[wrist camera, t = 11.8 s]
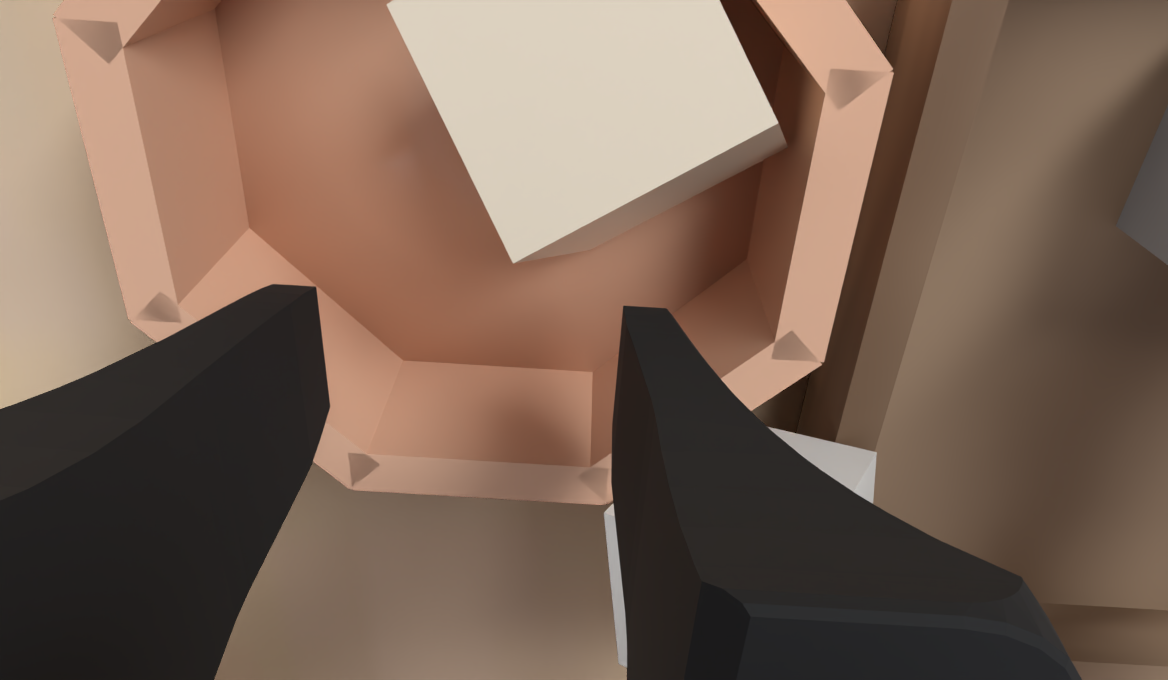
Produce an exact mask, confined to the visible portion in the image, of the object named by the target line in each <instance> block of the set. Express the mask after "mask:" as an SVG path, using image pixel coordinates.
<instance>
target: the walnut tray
mask: <svg viewBox="0 0 1168 680" xmlns="http://www.w3.org/2000/svg"><path fill="white" fill-rule="evenodd" d="M884 56H885V58H886V59H887V61H888V62H889V64H890V65H891V67H892V68H893V70H892V72H894V74H893V78H892V82H891V86H890V91H889V95H888V99H887V103H886V107H885V111H884V115H883V120H882V124H881V128H880V132H879V136H878V140H877V144H876V149H875V153H874V157H873V161H872V165H871V169H870V173H869V178H868V182H867V186H866V190H865V194H864V198H863V202H862V207H861V211H860V215H859V219H858V223H857V227H856V231H855V236H854V240H853V244H852V248H851V252H850V256H849V260H848V265H847V269H846V273H845V277H844V281H843V285H842V289H841V294H840V298H839V302H838V306H837V310H836V314H835V318H834V323H833V327H832V331H831V335H830V339H829V343H828V347H827V352H826V356H825V360H824V362H821V363H822V365H821V366H819V367H818V368H816V369H815V370H813V371H812V372H810V377H809V381H808V385H807V389H806V394H805V398H804V402H803V407H802V411H801V415H800V419H799V424H798V428H797V432H796V433H797V434H801V435H805V436H809V437H814V438H818V439H822V440H826V441H831V442H835V443H839V444H843V445H848V446H852V447H856V448H860V449H865V450H869V451H873V452H877V455H876V469H875V483H874V498H873V504H874V505H876V506H877V507H879V508H881V509H883V510H884V511H886V512H888V513H889V514H891V515H893V516H895V517H897V518H899V519H901V520H902V521H904V522H906V523H908V524H910V525H912V526H913V527H915V528H917V529H919V530H921V531H923V532H925V533H926V534H928V535H930V536H932V537H934V538H936V539H938V540H940V541H942V542H945V543H947V544H949V545H951V546H954V547H956V548H958V549H960V550H963V551H965V552H967V553H969V554H971V555H974V556H976V557H978V558H980V559H983V560H985V561H987V562H989V563H992V564H994V565H996V566H998V567H1000V568H1003V569H1005V570H1007V571H1009V572H1012V573H1014V574H1016V575H1018V576H1021V577H1022V578H1023V580H1024V582H1025V583H1026V584H1027V586H1028V587H1029V589H1030V590H1031V592H1032V593H1033V595H1034V596H1035V598H1036V599H1037V601H1038V602H1039V604H1040V606H1041V607H1042V609H1043V610H1044V612H1045V613H1046V615H1047V616H1048V618H1049V620H1050V622H1051V623H1052V625H1053V627H1054V629H1055V631H1056V633H1057V635H1058V636H1059V638H1060V640H1061V642H1062V644H1063V646H1064V648H1065V650H1066V652H1067V654H1068V656H1069V657H1070V659H1071V661H1072V663H1073V664H1074V666H1075V668H1076V670H1077V671H1078V673H1079V675H1080V677H1081V679H1082V680H1168V265H1167V264H1166V263H1164V262H1163V261H1162V260H1160V259H1159V258H1158V257H1156V256H1155V255H1154V254H1152V253H1151V252H1150V251H1148V250H1147V249H1146V248H1144V247H1143V246H1142V245H1140V244H1139V243H1138V242H1136V241H1135V240H1134V239H1132V238H1131V237H1130V236H1128V235H1127V234H1126V233H1124V232H1123V231H1122V230H1120V229H1119V228H1118V227H1116V224H1117V222H1118V219H1119V217H1120V215H1121V212H1122V210H1123V208H1124V206H1125V203H1126V201H1127V199H1128V196H1129V194H1130V192H1131V189H1132V187H1133V185H1134V182H1135V180H1136V178H1137V175H1138V173H1139V171H1140V168H1141V166H1142V164H1143V161H1144V159H1145V157H1146V154H1147V152H1148V150H1149V148H1150V145H1151V143H1152V141H1153V138H1154V136H1155V134H1156V131H1157V129H1158V127H1159V124H1160V122H1161V120H1162V117H1163V115H1164V113H1165V110H1166V108H1167V106H1168V0H897V4H896V8H895V13H894V17H893V21H892V25H891V30H890V34H889V38H888V43H887V47H886V51H885V55H884Z"/></svg>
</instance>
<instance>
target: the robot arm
mask: <svg viewBox="0 0 1168 680" xmlns="http://www.w3.org/2000/svg"><path fill="white" fill-rule="evenodd" d="M329 409H330V399H329V391H328V382H327V374H326V365H325V357H324V348H323V340H322V331H321V323H320V314H319V306H318V297H317V289H316V286H299V285H283V284H271V285H269V286H266V287H263V288H261V289H259V290H257V291H254V292H252V293H250V294H248V295H246V296H244V297H242V298H240V299H238V300H236V301H235V302H233V303H231V304H229V305H227V306H225V307H223V308H221V309H219V310H218V311H216V312H214V313H212V314H210V315H208V316H206V317H204V318H203V319H201V320H199V321H197V322H195V323H193V324H191V325H189V326H188V327H186V328H184V329H182V330H180V331H178V332H176V333H174V334H172V335H171V336H169V337H167V338H165V339H163V340H161V341H159V342H157V343H155V344H153V345H151V346H149V347H146V348H144V349H142V350H140V351H138V352H136V353H134V354H132V355H130V356H128V357H126V358H124V359H121V360H119V361H117V362H115V363H113V364H111V365H109V366H107V367H105V368H103V369H101V370H99V371H96V372H94V373H92V374H90V375H87V376H85V377H83V378H80V379H78V380H76V381H73V382H71V383H68V384H66V385H64V386H61V387H59V388H56V389H54V390H51V391H48V392H46V393H43V394H40V395H38V396H35V397H33V398H30V399H27V400H25V401H22V402H19V403H17V404H14V405H11V406H8V407H5V408H3V409H0V680H214V678H215V675H216V673H217V670H218V667H219V665H220V662H221V659H222V656H223V654H224V651H225V648H226V646H227V643H228V640H229V637H230V635H231V632H232V629H233V627H234V624H235V621H236V619H237V616H238V614H239V612H240V610H241V607H242V605H243V603H244V601H245V598H246V596H247V594H248V592H249V590H250V588H251V586H252V584H253V582H254V580H255V578H256V576H257V574H258V572H259V570H260V568H261V566H262V564H263V562H264V560H265V558H266V556H267V554H268V552H269V550H270V548H271V546H272V544H273V542H274V540H275V538H276V536H277V534H278V532H279V530H280V528H281V526H282V524H283V522H284V520H285V518H286V516H287V514H288V512H289V510H290V508H291V506H292V504H293V502H294V500H295V498H296V496H297V494H298V492H299V490H300V488H301V486H302V484H303V482H304V480H305V478H306V475H307V473H308V471H309V469H310V467H311V465H312V462H313V459H314V456H315V454H316V451H317V448H318V445H319V442H320V439H321V436H322V432H323V429H324V426H325V422H326V419H327V416H328V413H329ZM611 485H612V495H613V504H614V514H615V523H616V533H617V542H618V551H619V561H620V570H621V579H622V588H623V598H624V607H625V619H626V635H627V680H1082V679H1081V677H1080V675H1079V673H1078V671H1077V670H1076V668H1075V666H1074V664H1073V663H1072V661H1071V659H1070V657H1069V656H1068V654H1067V652H1066V650H1065V648H1064V646H1063V644H1062V642H1061V640H1060V638H1059V636H1058V635H1057V633H1056V631H1055V629H1054V627H1053V625H1052V623H1051V622H1050V620H1049V618H1048V616H1047V615H1046V613H1045V612H1044V610H1043V609H1042V607H1041V606H1040V604H1039V602H1038V601H1037V599H1036V598H1035V596H1034V595H1033V593H1032V592H1031V590H1030V589H1029V587H1028V586H1027V584H1026V583H1025V582H1024V580H1023V578H1022V577H1021V576H1018V575H1016V574H1014V573H1012V572H1009V571H1007V570H1005V569H1003V568H1000V567H998V566H996V565H994V564H992V563H989V562H987V561H985V560H983V559H980V558H978V557H976V556H974V555H971V554H969V553H967V552H965V551H963V550H960V549H958V548H956V547H954V546H951V545H949V544H947V543H945V542H942V541H940V540H938V539H936V538H934V537H932V536H930V535H928V534H926V533H925V532H923V531H921V530H919V529H917V528H915V527H913V526H912V525H910V524H908V523H906V522H904V521H902V520H901V519H899V518H897V517H895V516H893V515H891V514H889V513H888V512H886V511H884V510H883V509H881V508H879V507H877V506H876V505H874V504H872V503H871V502H869V501H867V500H866V499H864V498H862V497H861V496H859V495H858V494H856V493H855V492H853V491H852V490H850V489H849V488H847V487H846V486H844V485H843V484H841V483H840V482H838V481H837V480H835V479H834V478H832V477H831V476H829V475H828V474H826V473H825V472H823V471H822V470H820V469H819V468H818V467H816V466H815V465H814V464H812V463H811V462H810V461H808V460H807V459H806V458H804V457H803V456H802V455H800V454H799V453H798V452H797V451H796V450H794V449H793V448H792V447H791V446H789V445H788V444H787V443H786V442H785V441H783V440H782V439H781V438H780V437H779V436H777V435H776V434H775V433H774V432H773V431H771V430H770V429H769V428H768V427H767V426H766V425H765V424H764V423H763V422H761V421H760V420H759V419H758V418H757V417H756V416H755V415H754V414H753V413H752V412H751V411H750V410H749V409H748V408H747V407H746V406H745V405H744V404H743V403H742V402H741V401H740V400H739V399H738V398H737V397H736V396H735V395H734V394H733V392H732V391H731V390H730V389H729V388H728V387H727V386H726V384H725V383H724V382H723V381H722V380H721V378H720V377H719V376H718V375H717V374H716V373H715V371H714V370H713V369H712V368H711V367H710V365H709V364H708V363H707V362H706V360H705V359H704V358H703V357H702V355H701V354H700V353H699V351H698V350H697V349H696V347H695V346H694V345H693V343H692V342H691V341H690V339H689V338H688V336H687V335H686V334H685V332H684V331H683V329H682V328H681V327H680V325H679V324H678V322H677V321H676V319H675V318H674V317H673V315H672V314H671V313H670V312H669V311H668V309H667V308H655V307H638V306H623V313H622V324H621V335H620V346H619V356H618V367H617V378H616V389H615V399H614V410H613V421H612V463H611Z"/></svg>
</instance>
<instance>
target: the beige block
mask: <svg viewBox="0 0 1168 680" xmlns="http://www.w3.org/2000/svg"><path fill="white" fill-rule="evenodd" d="M387 7H388V9H389V11H390V13H391V15H392V17H393V19H394V21H395V23H396V25H397V27H398V29H399V31H400V34H401V36H402V38H403V40H404V42H405V44H406V46H407V48H408V50H409V52H410V54H411V56H412V58H413V60H414V62H415V64H416V66H417V68H418V70H419V72H420V74H421V76H422V78H423V80H424V83H425V85H426V87H427V89H428V91H429V93H430V95H431V97H432V99H433V101H434V103H435V105H436V107H437V109H438V111H439V113H440V115H441V117H442V119H443V121H444V123H445V125H446V127H447V130H448V132H449V134H450V136H451V138H452V140H453V142H454V144H455V146H456V148H457V150H458V152H459V154H460V156H461V158H462V160H463V162H464V164H465V166H466V168H467V170H468V172H469V174H470V176H471V179H472V181H473V183H474V185H475V187H476V189H477V191H478V193H479V195H480V197H481V199H482V201H483V203H484V205H485V207H486V209H487V211H488V213H489V215H490V217H491V219H492V221H493V223H494V226H495V228H496V230H497V232H498V234H499V236H500V238H501V240H502V242H503V244H504V246H505V248H506V250H507V252H508V254H509V256H510V258H511V260H512V262H513V263H519V262H524V261H530V260H536V259H542V258H547V257H553V256H559V255H564V254H570V253H576V252H582V251H587V250H591V249H593V248H595V247H597V246H599V245H601V244H603V243H605V242H606V241H608V240H610V239H612V238H614V237H616V236H618V235H620V234H622V233H624V232H626V231H628V230H630V229H632V228H633V227H635V226H637V225H639V224H641V223H643V222H645V221H647V220H649V219H651V218H653V217H655V216H657V215H659V214H661V213H662V212H664V211H666V210H668V209H670V208H672V207H674V206H676V205H678V204H680V203H682V202H684V201H686V200H688V199H689V198H691V197H693V196H695V195H697V194H699V193H701V192H703V191H705V190H707V189H709V188H711V187H713V186H715V185H717V184H718V183H720V182H722V181H724V180H726V179H728V178H730V177H732V176H734V175H736V174H738V173H740V172H742V171H744V170H746V169H747V168H749V167H751V166H753V165H755V164H757V163H759V162H761V161H763V160H765V159H767V158H769V157H771V156H773V155H774V154H776V153H778V152H780V151H782V150H784V149H786V148H788V146H787V143H786V140H785V138H784V135H783V133H782V130H781V128H780V125H779V123H778V121H777V119H776V117H775V114H774V112H773V110H772V108H771V106H770V104H769V102H768V100H767V98H766V96H765V94H764V92H763V90H762V88H761V85H760V83H759V81H758V79H757V77H756V75H755V73H754V71H753V69H752V67H751V65H750V63H749V61H748V58H747V56H746V54H745V52H744V50H743V48H742V46H741V44H740V42H739V40H738V38H737V36H736V34H735V31H734V29H733V27H732V25H731V23H730V21H729V19H728V17H727V15H726V13H725V11H724V9H723V7H722V4H721V2H720V0H393V1H391V2H390V3H388V4H387Z"/></svg>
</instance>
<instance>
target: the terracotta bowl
mask: <svg viewBox="0 0 1168 680" xmlns="http://www.w3.org/2000/svg"><path fill="white" fill-rule="evenodd" d="M391 1H393V0H63V2H62V3H61V4H60V6H59V7H58V8H57V10H56V11H55V12H54V14H53V15H54V16H55V17H54V18H53V22H54V26H55V30H56V34H57V38H58V42H59V46H60V50H61V54H62V58H63V62H64V66H65V70H66V74H67V78H68V82H69V85H70V89H71V93H72V97H73V101H74V105H75V109H76V113H77V117H78V121H79V125H80V129H81V133H82V137H83V141H84V145H85V149H86V153H87V157H88V161H89V165H90V169H91V173H92V177H93V181H94V185H95V189H96V193H97V197H98V201H99V205H100V209H101V213H102V217H103V221H104V225H105V229H106V233H107V237H108V241H109V245H110V249H111V253H112V256H113V260H114V264H115V268H116V272H117V276H118V280H119V284H120V288H121V292H122V296H123V300H124V304H125V308H126V312H127V316H128V320H132V321H131V323H132V324H133V325H134V326H136V327H137V328H138V329H140V330H141V331H142V332H144V333H145V334H146V335H148V336H149V337H150V338H152V339H153V340H154V341H155V342H159V341H161V340H163V339H165V338H167V337H169V336H171V335H172V334H174V333H176V332H178V331H180V330H182V329H184V328H186V327H188V326H189V325H191V324H193V323H195V322H197V321H199V320H201V319H203V318H204V317H206V316H208V315H210V314H212V313H214V312H216V311H218V310H219V309H221V308H223V307H225V306H227V305H229V304H231V303H233V302H235V301H236V300H238V299H240V298H242V297H244V296H246V295H248V294H250V293H252V292H254V291H257V290H259V289H261V288H263V287H266V286H269V285H271V284H283V285H299V286H316V289H317V297H318V306H319V314H320V323H321V331H322V340H323V348H324V357H325V365H326V374H327V382H328V391H329V399H330V409H329V413H328V416H327V419H326V422H325V426H324V429H323V432H322V436H321V439H320V442H319V445H318V448H317V451H316V454H315V456H314V459H313V462H314V463H316V464H317V465H318V466H320V467H321V468H322V469H324V470H325V471H326V472H327V473H329V474H330V475H331V476H333V477H334V478H335V479H337V480H338V481H339V482H341V483H342V484H343V485H345V486H346V487H347V488H348V489H350V488H352V490H358V491H375V492H391V493H408V494H425V495H442V496H459V497H476V498H492V499H509V500H526V501H543V502H560V503H576V504H593V505H605V503H607V504H610V503H611V502H613V495H612V485H611V463H612V421H613V410H614V399H615V389H616V378H617V367H618V356H619V346H620V335H621V324H622V313H623V306H638V307H655V308H667V309H668V311H669V312H670V313H671V314H672V315H673V317H674V318H675V319H676V321H677V322H678V324H679V325H680V327H681V328H682V329H683V331H684V332H685V334H686V335H687V336H688V338H689V339H690V341H691V342H692V343H693V345H694V346H695V347H696V349H697V350H698V351H699V353H700V354H701V355H702V357H703V358H704V359H705V360H706V362H707V363H708V364H709V365H710V367H711V368H712V369H713V370H714V371H715V373H716V374H717V375H718V376H719V377H720V378H721V380H722V381H723V382H724V383H725V384H726V386H727V387H728V388H729V389H730V390H731V391H732V392H733V394H734V395H735V396H736V397H737V398H738V399H739V400H740V401H741V402H742V403H743V404H744V405H745V406H746V407H747V408H748V409H749V410H750V411H752V410H754V409H755V408H757V407H758V406H760V405H761V404H763V403H764V402H766V401H767V400H769V399H770V398H772V397H773V396H775V395H776V394H778V393H780V392H781V391H783V390H784V389H786V388H787V387H789V386H790V385H792V384H793V383H795V382H796V381H798V380H799V379H801V378H803V377H804V376H806V375H807V374H809V373H810V372H812V371H813V370H815V369H816V368H818V367H819V366H821V365H822V363H821V362H824V360H825V356H826V352H827V347H828V343H829V339H830V335H831V331H832V327H833V323H834V318H835V314H836V310H837V306H838V302H839V298H840V294H841V289H842V285H843V281H844V277H845V273H846V269H847V265H848V260H849V256H850V252H851V248H852V244H853V240H854V236H855V231H856V227H857V223H858V219H859V215H860V211H861V207H862V202H863V198H864V194H865V190H866V186H867V182H868V178H869V173H870V169H871V165H872V161H873V157H874V153H875V149H876V144H877V140H878V136H879V132H880V128H881V124H882V120H883V115H884V111H885V107H886V103H887V99H888V95H889V91H890V86H891V82H892V78H893V74H894V72H892V70H893V68H892V67H891V65H890V64H889V62H888V61H887V59H886V58H885V56H884V55H883V53H882V52H881V51H880V49H879V48H878V46H877V45H876V43H875V42H874V40H873V39H872V37H871V36H870V35H869V33H868V32H867V30H866V29H865V27H864V26H863V24H862V23H861V21H860V20H859V19H858V17H857V16H856V14H855V13H854V11H853V10H852V8H851V7H850V5H849V4H848V3H847V1H846V0H720V2H721V4H722V7H723V9H724V11H725V13H726V15H727V17H728V19H729V21H730V23H731V25H732V27H733V29H734V31H735V34H736V36H737V38H738V40H739V42H740V44H741V46H742V48H743V50H744V52H745V54H746V56H747V58H748V61H749V63H750V65H751V67H752V69H753V71H754V73H755V75H756V77H757V79H758V81H759V83H760V85H761V88H762V90H763V92H764V94H765V96H766V98H767V100H768V102H769V104H770V106H771V108H772V110H773V112H774V114H775V117H776V119H777V121H778V123H779V125H780V128H781V130H782V133H783V135H784V138H785V140H786V143H787V146H788V148H786V149H784V150H782V151H780V152H778V153H776V154H774V155H773V156H771V157H769V158H767V159H765V160H763V161H761V162H759V163H757V164H755V165H753V166H751V167H749V168H747V169H746V170H744V171H742V172H740V173H738V174H736V175H734V176H732V177H730V178H728V179H726V180H724V181H722V182H720V183H718V184H717V185H715V186H713V187H711V188H709V189H707V190H705V191H703V192H701V193H699V194H697V195H695V196H693V197H691V198H689V199H688V200H686V201H684V202H682V203H680V204H678V205H676V206H674V207H672V208H670V209H668V210H666V211H664V212H662V213H661V214H659V215H657V216H655V217H653V218H651V219H649V220H647V221H645V222H643V223H641V224H639V225H637V226H635V227H633V228H632V229H630V230H628V231H626V232H624V233H622V234H620V235H618V236H616V237H614V238H612V239H610V240H608V241H606V242H605V243H603V244H601V245H599V246H597V247H595V248H593V249H591V250H587V251H582V252H576V253H570V254H564V255H559V256H553V257H547V258H542V259H536V260H530V261H524V262H519V263H513V262H512V260H511V258H510V256H509V254H508V252H507V250H506V248H505V246H504V244H503V242H502V240H501V238H500V236H499V234H498V232H497V230H496V228H495V226H494V223H493V221H492V219H491V217H490V215H489V213H488V211H487V209H486V207H485V205H484V203H483V201H482V199H481V197H480V195H479V193H478V191H477V189H476V187H475V185H474V183H473V181H472V179H471V176H470V174H469V172H468V170H467V168H466V166H465V164H464V162H463V160H462V158H461V156H460V154H459V152H458V150H457V148H456V146H455V144H454V142H453V140H452V138H451V136H450V134H449V132H448V130H447V127H446V125H445V123H444V121H443V119H442V117H441V115H440V113H439V111H438V109H437V107H436V105H435V103H434V101H433V99H432V97H431V95H430V93H429V91H428V89H427V87H426V85H425V83H424V80H423V78H422V76H421V74H420V72H419V70H418V68H417V66H416V64H415V62H414V60H413V58H412V56H411V54H410V52H409V50H408V48H407V46H406V44H405V42H404V40H403V38H402V36H401V34H400V31H399V29H398V27H397V25H396V23H395V21H394V19H393V17H392V15H391V13H390V11H389V9H388V7H387V4H388V3H390V2H391Z"/></svg>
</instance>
